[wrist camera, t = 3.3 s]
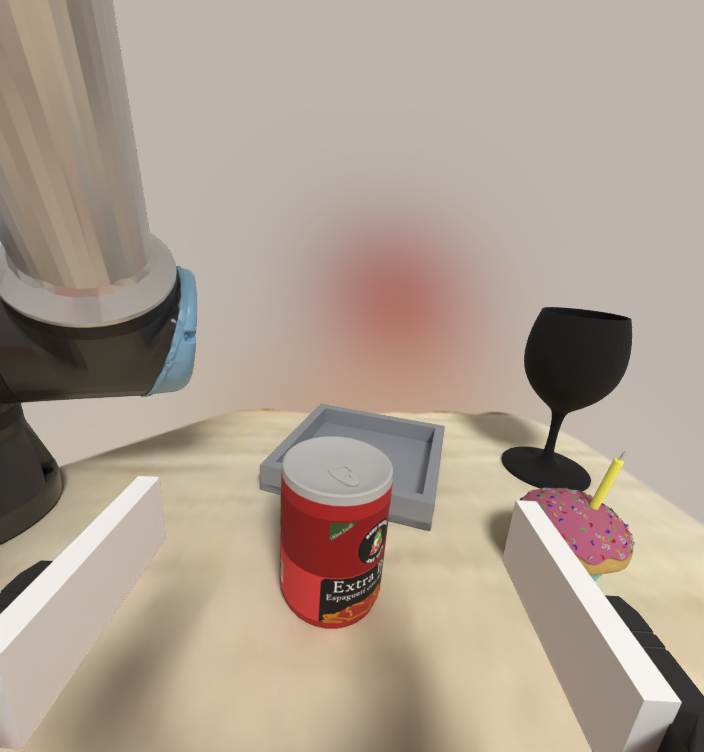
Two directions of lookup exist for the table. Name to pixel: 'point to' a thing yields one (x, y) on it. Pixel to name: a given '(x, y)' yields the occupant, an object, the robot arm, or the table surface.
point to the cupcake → (589, 524)
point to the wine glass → (569, 383)
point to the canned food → (333, 528)
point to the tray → (391, 436)
